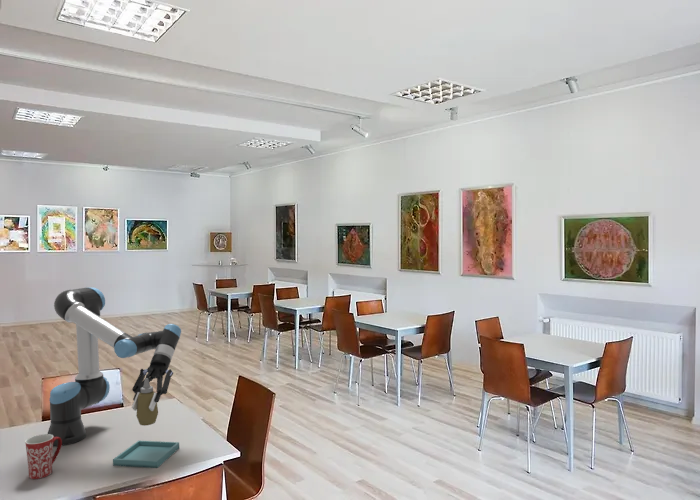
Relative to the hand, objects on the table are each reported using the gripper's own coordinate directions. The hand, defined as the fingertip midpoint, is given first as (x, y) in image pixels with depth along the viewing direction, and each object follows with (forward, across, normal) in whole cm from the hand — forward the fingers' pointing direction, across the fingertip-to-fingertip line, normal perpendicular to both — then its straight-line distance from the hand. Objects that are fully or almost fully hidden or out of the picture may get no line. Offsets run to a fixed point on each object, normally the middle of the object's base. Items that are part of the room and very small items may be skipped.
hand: (142, 409), depth 196 cm
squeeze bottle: (+3, 0, -8) cm, 8 cm away
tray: (+12, 0, -17) cm, 21 cm away
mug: (+24, +32, -5) cm, 40 cm away
